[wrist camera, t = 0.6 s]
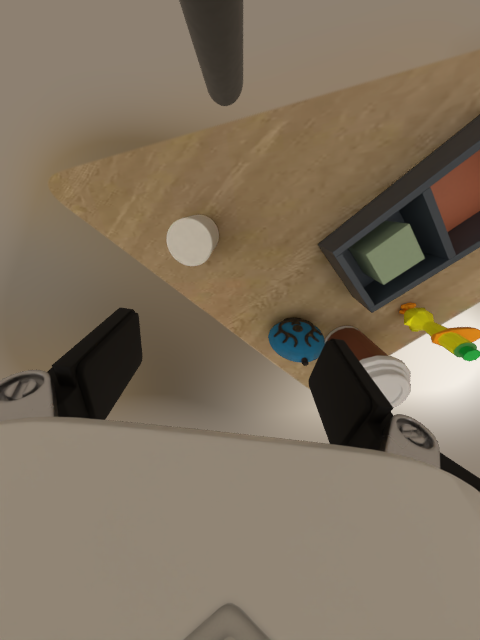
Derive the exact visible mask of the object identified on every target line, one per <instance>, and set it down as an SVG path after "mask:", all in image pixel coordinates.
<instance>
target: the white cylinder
mask: <svg viewBox="0 0 480 640" xmlns="http://www.w3.org/2000/svg"><path fill="white" fill-rule="evenodd" d="M218 240H219V232H218V228H217V226H216V224H215V223H214V221H213V220H212V219H210V218H209V217H207V216H205V215H193V216H189V217H185V218H182V219H179V220H177V221H175V222H174V223H173V224H172V225H171V226H170V228H169V230H168V232H167V246H168V249H169V251H170V253H171V255H172V256H173V257H174V258H175V259H176V260H177V261H178V262H180V263H182V264H184V265H187V266H198V265H201V264H203V263H204V262H205V261H206V260H207V259H208V258H209V257H210V255H211V253H212V252H213V250H214V249H215V247H216V245H217V243H218Z"/></svg>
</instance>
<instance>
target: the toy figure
mask: <svg viewBox="0 0 480 640" xmlns="http://www.w3.org/2000/svg"><path fill="white" fill-rule="evenodd" d="M414 307H416V304H415V303H407V304H404V305H401V308H402V309H403V310H400V312H399V313H401V314H404V324H405V325H408V326H409V328H410V330H411V331H416V332H418V330H425V331H426V332H427V333H428V334H429V335H430V336H431V340H432V342H433V343H435V344H438V345H441V346H443V347H444V348H446V349H447V350H448V351H450V352H451V353H453V354H454V355H456V356H457V357H462V358H463V359H464V360H467V361H472V360H476V359H477V358H478V357H479V356H480V351H478V350H476V349H477V347H476V345H475V344H473V343H472V342H474V341H476V340H477V339H479V338H480V330H478V329H476V328H471V327H457V328H446V327H444V326H441V325H439V324H437V323H435V322H434V319H433V314H432V313H430V312H428V311H426V310H425V308H414Z"/></svg>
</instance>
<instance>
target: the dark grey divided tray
mask: <svg viewBox="0 0 480 640" xmlns="http://www.w3.org/2000/svg"><path fill="white" fill-rule="evenodd" d="M384 221H391V222H399V223H407V224H410V226H411V229H412V231H413V233H414V235H415V237H416V240H417V242H418V244H419V246H420V249H421V251H422V253H423V255H424V257H425V259H423V260H422V261H420V262H419V263H417V264H416V265H414V266H412V267H411V268H409V269H408V270H406V271H405V272H403V273H402V274H400V275H398V276H397V277H395V278H394V279H392V280H391V281H389V282H388V283H386V284H384V285H383V284H381V283H379V282H378V281H376V280H374V279H373V278H371V277H369V276H367V275H366V274H364V273H363V271H362V270H361V268H360V267H359V265H358V263H357V262H356V260H355V258H354V257H353V255H352V254H351V252H350V250H349V249H348V248H349V247H351V246H352V245H353V244H355V243H356V242H357V241H359V240H360V239H361V238H363V237H364V236H365V235H367V234H368V233H369V232H371V231H372V230H373V229H375V228H376V227H377V226H379V225H380V224H381V223H383V222H384ZM318 246H319V247H320V249H321V250H322V252H323V253H324V255H325V256H326V258H327V259H328V261H329V262H330V264H331V265H332V267H333V268H334V270H335V271H336V273H337V274H338V275H339V277H340V278H341V280H342V281H343V283H344V284H345V286H346V287H347V289H348V290H349V292H350V293H351V295H352V296H353V297H354V298H355V299H356V300H357V301H358V302H360V303H361V304H362V305H363V306H364V307H366V308H367V309H368V310H369V311H370V312H371V313H373V312H374V311H376V310H378V309H379V308H381V307H382V306H384V305H386V304H387V303H389V302H391V301H392V300H394V299H396V298H397V297H399V296H401V295H402V294H404V293H405V292H407V291H409V290H410V289H412V288H414V287H415V286H417V285H419V284H420V283H422V282H423V281H425V280H427V279H428V278H430V277H432V276H433V275H435V274H437V273H438V272H440V271H442V270H443V269H445V268H446V267H448V266H450V265H451V264H453V263H455V262H456V261H458V260H460V259H461V258H463V257H464V256H466V255H468V254H469V253H471V252H473V251H474V250H476V249H478V248H479V247H480V115H479V116H477V117H476V118H475V119H474V120H472V121H471V122H470V123H469V124H467V125H466V126H465V127H464V128H462V129H461V130H460V131H459V132H457V133H456V134H455V135H454V136H452V137H451V138H450V139H449V140H447V141H446V142H445V143H444V144H442V145H441V146H440V147H439V148H437V149H436V150H435V151H434V152H432V153H431V154H430V155H429V156H427V157H426V158H425V159H424V160H422V161H421V162H420V163H419V164H417V165H416V166H415V167H414V168H412V169H411V170H410V171H409V172H407V173H406V174H405V175H404V176H402V177H401V178H400V179H399V180H397V181H396V182H395V183H394V184H392V185H391V186H390V187H389V188H387V189H386V190H385V191H384V192H382V193H381V194H380V195H379V196H377V197H376V198H375V199H374V200H372V201H371V202H370V203H369V204H367V205H366V206H365V207H364V208H362V209H361V210H360V211H359V212H357V213H356V214H355V215H354V216H352V217H351V218H350V219H349V220H347V221H346V222H345V223H344V224H342V225H341V226H340V227H339V228H337V229H336V230H335V231H334V232H332V233H331V234H330V235H329V236H327V237H326V238H325V239H324V240H322V241H321V242H320V243H319V244H318Z"/></svg>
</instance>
